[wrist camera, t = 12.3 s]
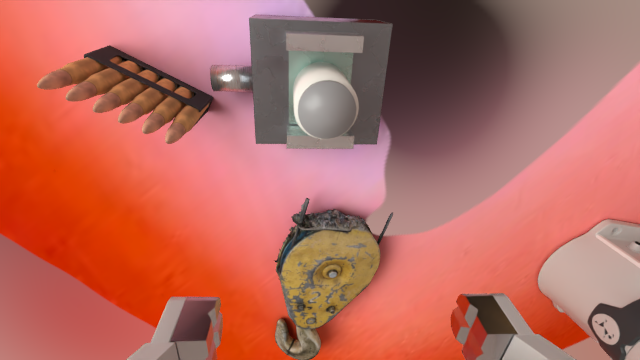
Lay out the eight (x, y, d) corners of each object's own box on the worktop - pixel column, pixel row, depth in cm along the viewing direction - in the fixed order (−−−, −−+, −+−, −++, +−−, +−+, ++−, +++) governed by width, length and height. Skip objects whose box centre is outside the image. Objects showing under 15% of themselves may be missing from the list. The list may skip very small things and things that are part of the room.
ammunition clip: (213, 96, 36) (183, 137, 25) (207, 111, 37) (175, 157, 26) (109, 44, 33) (24, 67, 22) (104, 62, 33) (20, 91, 23)
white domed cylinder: (351, 63, 29) (364, 79, 24) (344, 118, 32) (355, 143, 26) (294, 59, 29) (295, 75, 23) (292, 115, 31) (292, 141, 26)
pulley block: (245, 375, 49) (304, 213, 37) (243, 340, 54) (295, 185, 41) (331, 371, 54) (410, 227, 42) (323, 339, 59) (391, 201, 46)
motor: (376, 19, 33) (403, 26, 26) (364, 124, 39) (384, 156, 31) (213, 12, 32) (188, 17, 24) (224, 122, 37) (207, 156, 29)
